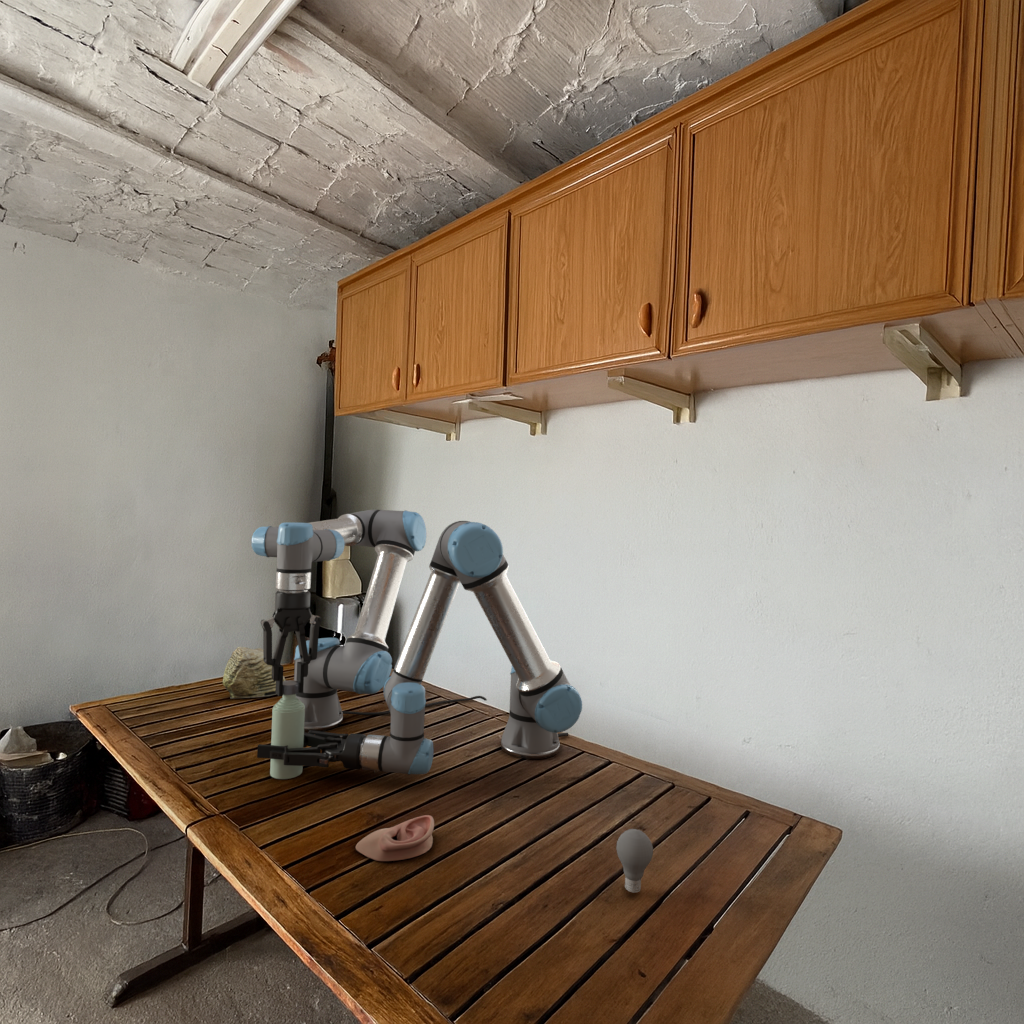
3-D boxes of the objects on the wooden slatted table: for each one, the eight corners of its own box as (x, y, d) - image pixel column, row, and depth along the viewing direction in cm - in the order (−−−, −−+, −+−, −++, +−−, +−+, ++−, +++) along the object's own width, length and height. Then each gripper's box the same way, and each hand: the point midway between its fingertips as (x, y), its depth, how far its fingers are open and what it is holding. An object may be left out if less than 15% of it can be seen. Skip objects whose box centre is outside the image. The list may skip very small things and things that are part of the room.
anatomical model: (348, 834, 112) (375, 804, 123) (347, 856, 112) (374, 824, 123) (419, 845, 109) (440, 813, 120) (418, 868, 109) (439, 834, 121)
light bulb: (610, 879, 108) (613, 822, 108) (644, 879, 109) (647, 822, 109) (619, 902, 102) (622, 840, 102) (655, 901, 103) (658, 840, 103)
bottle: (278, 782, 140) (281, 691, 139) (264, 771, 145) (268, 684, 144) (307, 773, 145) (311, 685, 144) (293, 763, 150) (297, 678, 149)
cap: (301, 689, 146) (301, 680, 146) (296, 695, 142) (296, 685, 142) (283, 689, 146) (283, 679, 146) (276, 694, 142) (277, 685, 142)
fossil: (218, 695, 195) (220, 647, 195) (278, 685, 208) (279, 640, 207) (228, 703, 189) (230, 653, 188) (289, 692, 201) (290, 645, 201)
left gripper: (258, 594, 136) (254, 703, 136) (335, 590, 146) (331, 691, 146) (249, 590, 142) (245, 693, 142) (323, 586, 152) (320, 683, 152)
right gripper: (348, 788, 133) (243, 779, 135) (376, 751, 153) (284, 744, 155) (349, 753, 133) (244, 744, 135) (377, 720, 153) (286, 713, 155)
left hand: (289, 692), depth 144 cm, fingers closed on cap, 4 cm apart
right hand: (266, 744), depth 145 cm, fingers closed on bottle, 7 cm apart
